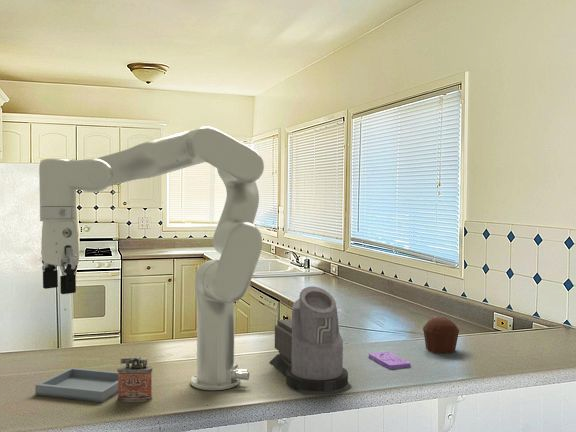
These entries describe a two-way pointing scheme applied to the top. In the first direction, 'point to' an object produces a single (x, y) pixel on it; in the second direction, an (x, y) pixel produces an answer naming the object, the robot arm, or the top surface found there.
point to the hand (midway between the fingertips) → (59, 290)
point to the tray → (80, 385)
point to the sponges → (389, 360)
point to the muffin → (440, 335)
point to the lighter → (134, 380)
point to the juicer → (311, 346)
